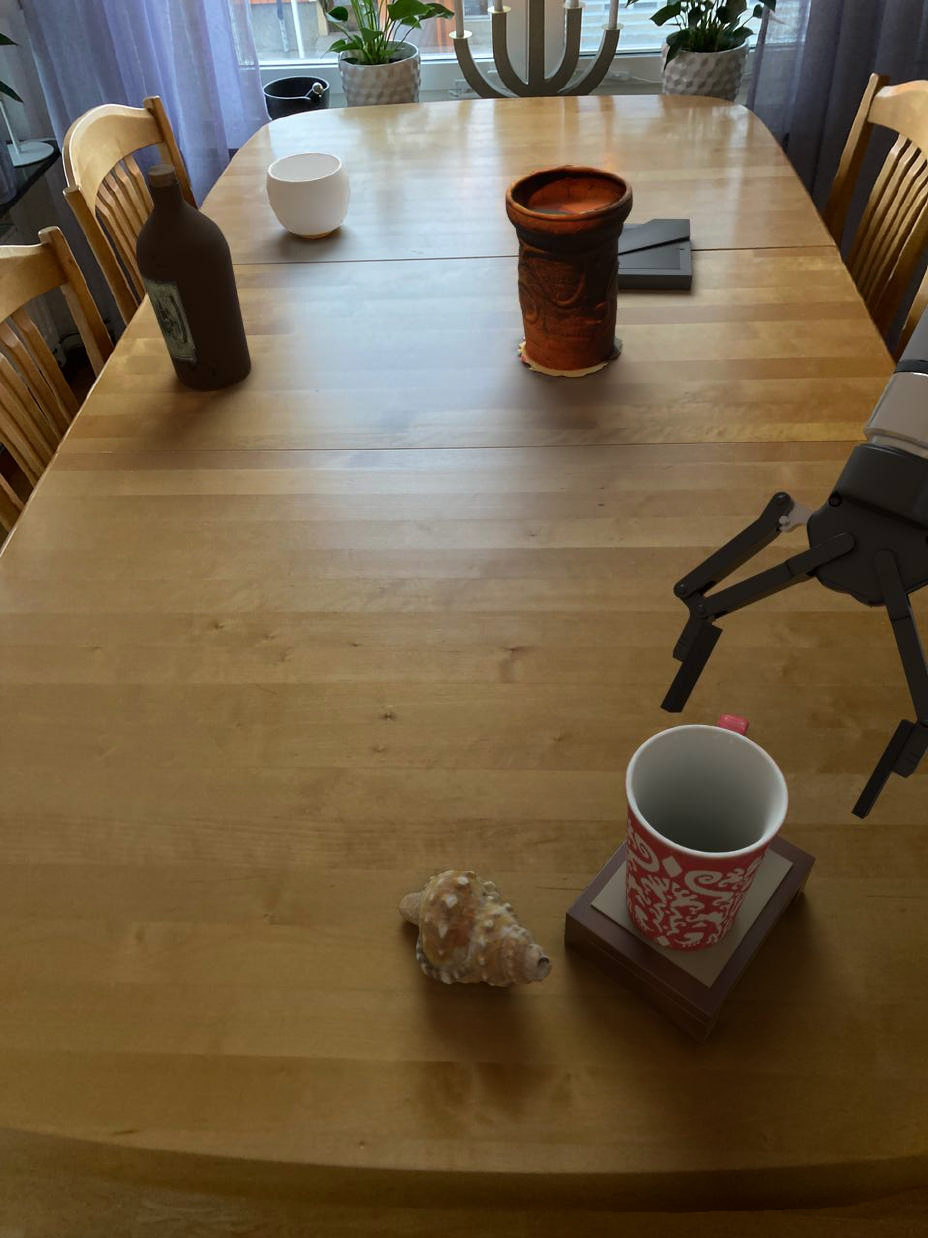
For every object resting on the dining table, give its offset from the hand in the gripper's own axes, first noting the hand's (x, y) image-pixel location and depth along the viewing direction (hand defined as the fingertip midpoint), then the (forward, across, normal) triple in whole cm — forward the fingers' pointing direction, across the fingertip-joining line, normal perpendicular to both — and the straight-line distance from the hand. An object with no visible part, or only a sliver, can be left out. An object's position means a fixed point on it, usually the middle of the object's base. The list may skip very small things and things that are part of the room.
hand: (760, 760), depth 64 cm
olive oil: (-6, +85, -23) cm, 88 cm away
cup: (-32, +104, -49) cm, 119 cm away
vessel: (-27, +52, -44) cm, 73 cm away
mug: (+10, 0, 0) cm, 10 cm away
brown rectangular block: (+13, 0, -3) cm, 13 cm away
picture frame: (-44, +60, -60) cm, 96 cm away
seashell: (+21, +10, +4) cm, 23 cm away
